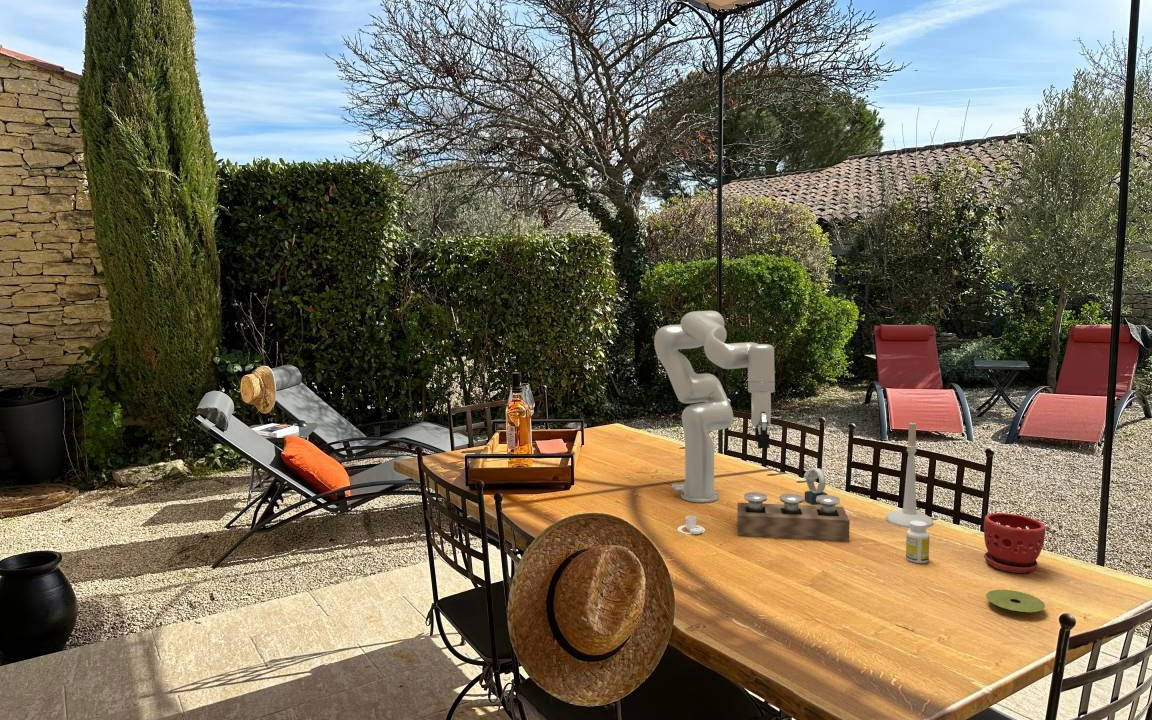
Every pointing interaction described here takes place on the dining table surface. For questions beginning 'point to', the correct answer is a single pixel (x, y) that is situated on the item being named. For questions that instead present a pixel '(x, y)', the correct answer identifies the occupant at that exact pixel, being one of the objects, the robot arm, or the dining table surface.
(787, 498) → the knob mid
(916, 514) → the candlestick
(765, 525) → the knob bar
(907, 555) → the supplement bottle
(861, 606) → the dining table surface
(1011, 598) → the mat
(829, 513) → the knob
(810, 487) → the watch
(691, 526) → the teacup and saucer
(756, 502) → the knob
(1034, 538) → the plant pot
